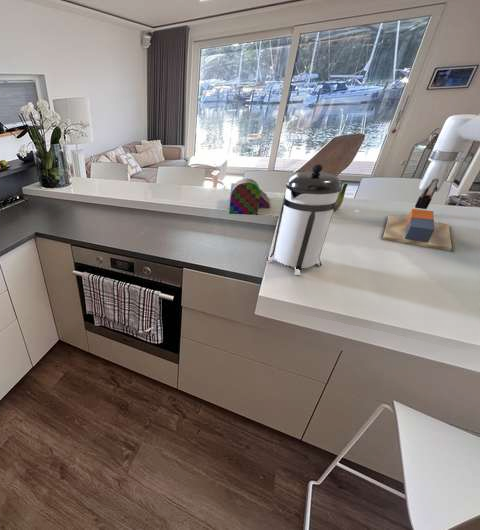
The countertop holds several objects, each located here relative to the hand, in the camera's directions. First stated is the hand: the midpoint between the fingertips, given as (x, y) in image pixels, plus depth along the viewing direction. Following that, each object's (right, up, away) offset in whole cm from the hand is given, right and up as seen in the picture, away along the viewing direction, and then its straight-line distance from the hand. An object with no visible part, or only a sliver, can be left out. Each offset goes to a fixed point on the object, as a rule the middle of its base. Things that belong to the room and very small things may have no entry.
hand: (420, 207), depth 106 cm
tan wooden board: (-9, -10, -6) cm, 15 cm away
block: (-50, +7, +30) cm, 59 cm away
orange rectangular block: (-6, -7, -4) cm, 11 cm away
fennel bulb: (-21, +3, +17) cm, 27 cm away
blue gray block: (-12, -12, -10) cm, 20 cm away
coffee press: (-57, -21, -16) cm, 62 cm away
